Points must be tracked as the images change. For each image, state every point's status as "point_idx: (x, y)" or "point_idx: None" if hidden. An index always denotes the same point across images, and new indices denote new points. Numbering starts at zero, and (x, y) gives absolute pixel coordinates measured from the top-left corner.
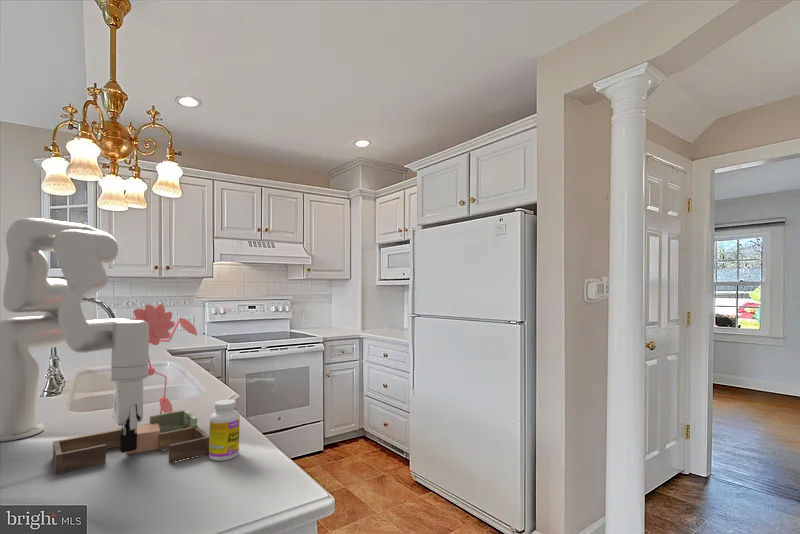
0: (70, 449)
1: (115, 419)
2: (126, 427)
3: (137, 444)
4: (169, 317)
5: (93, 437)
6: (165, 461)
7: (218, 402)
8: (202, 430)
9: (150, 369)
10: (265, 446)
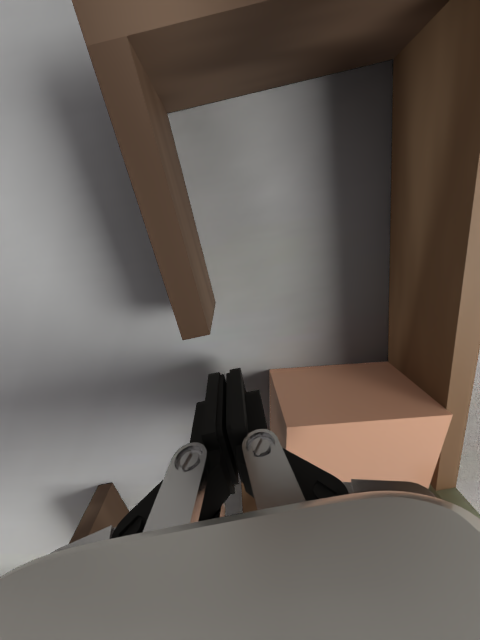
0: (422, 109)
1: (168, 566)
2: (129, 534)
3: (274, 423)
4: None
5: (451, 241)
6: (128, 475)
7: None
8: None
9: None
10: None
